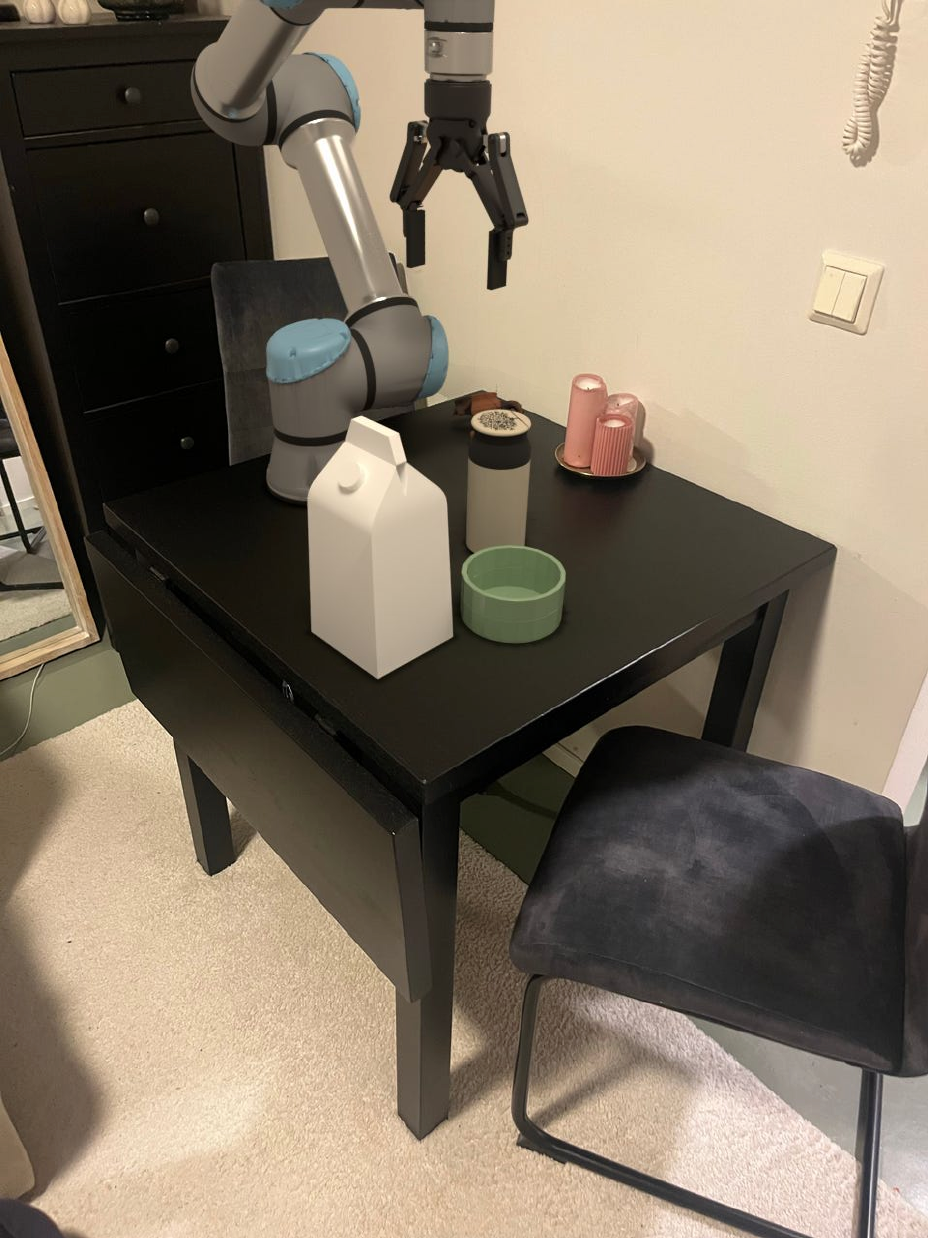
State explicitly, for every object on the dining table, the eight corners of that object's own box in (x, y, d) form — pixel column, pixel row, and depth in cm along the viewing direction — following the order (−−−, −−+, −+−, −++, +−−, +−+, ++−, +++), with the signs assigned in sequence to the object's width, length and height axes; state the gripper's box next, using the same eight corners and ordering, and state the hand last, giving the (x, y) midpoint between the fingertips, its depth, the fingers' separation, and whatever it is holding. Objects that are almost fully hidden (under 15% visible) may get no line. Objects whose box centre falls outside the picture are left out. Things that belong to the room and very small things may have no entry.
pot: (440, 613, 109) (440, 572, 106) (505, 575, 117) (507, 534, 113) (517, 656, 103) (520, 613, 99) (581, 612, 110) (586, 571, 107)
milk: (453, 636, 105) (457, 428, 90) (377, 679, 99) (368, 462, 84) (386, 594, 112) (379, 394, 97) (311, 631, 106) (292, 423, 90)
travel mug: (473, 563, 119) (478, 436, 108) (459, 533, 125) (462, 410, 115) (531, 556, 120) (541, 431, 110) (514, 527, 127) (522, 406, 116)
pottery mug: (455, 449, 148) (445, 399, 147) (463, 451, 158) (454, 404, 157) (526, 434, 147) (517, 383, 146) (530, 437, 156) (521, 389, 155)
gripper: (356, 70, 104) (364, 262, 116) (524, 88, 90) (512, 303, 103) (402, 67, 108) (405, 252, 121) (569, 84, 95) (553, 291, 107)
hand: (454, 276), depth 112 cm, fingers open, 13 cm apart
